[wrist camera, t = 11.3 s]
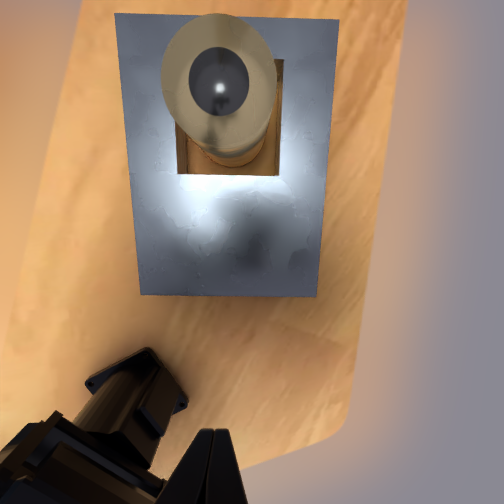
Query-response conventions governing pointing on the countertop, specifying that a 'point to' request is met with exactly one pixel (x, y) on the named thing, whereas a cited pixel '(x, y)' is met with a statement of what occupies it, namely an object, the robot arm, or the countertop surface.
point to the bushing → (220, 86)
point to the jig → (229, 186)
